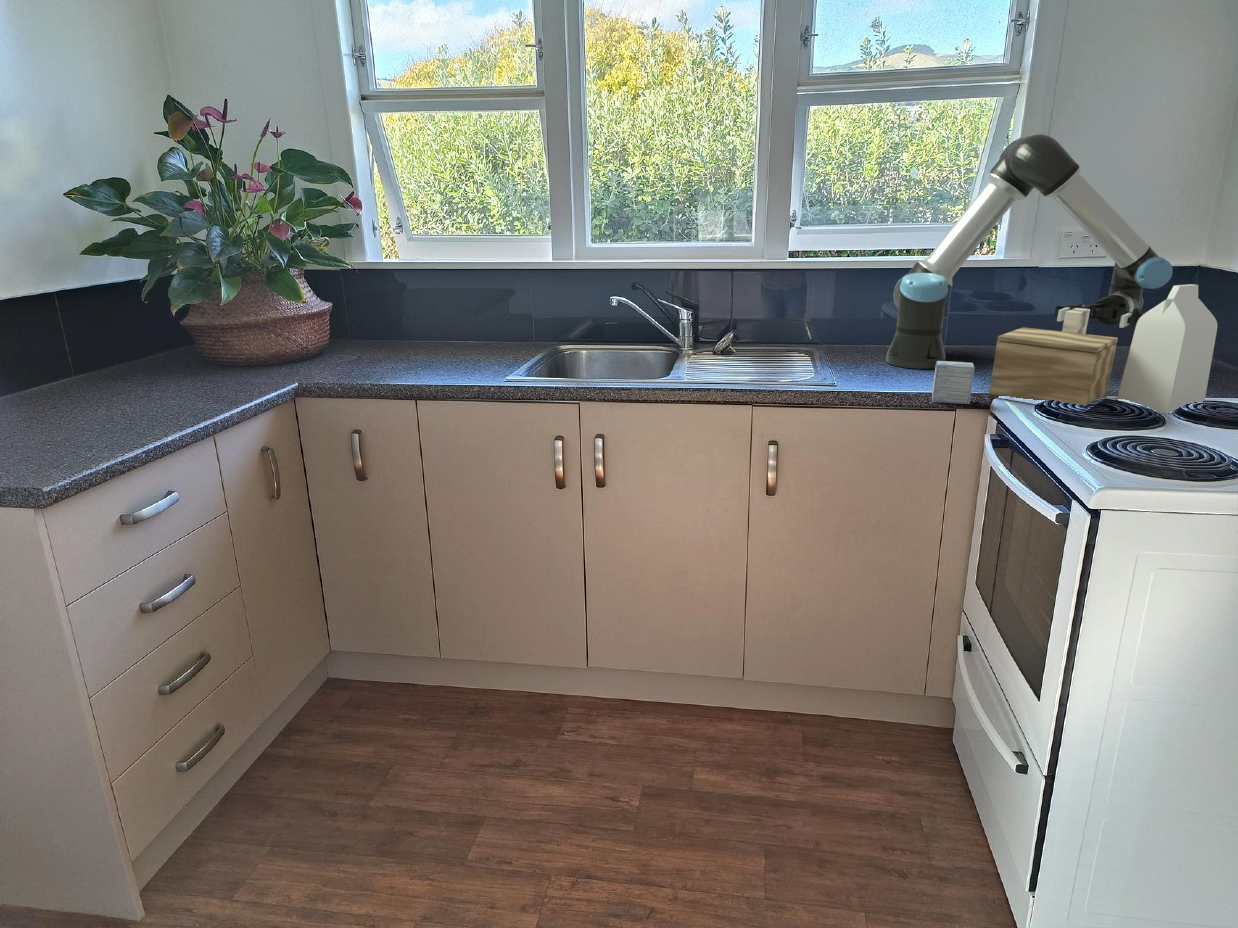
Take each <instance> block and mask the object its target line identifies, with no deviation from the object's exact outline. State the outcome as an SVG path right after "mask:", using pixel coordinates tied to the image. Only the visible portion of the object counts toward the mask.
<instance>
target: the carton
mask: <svg viewBox="0 0 1238 928" xmlns="http://www.w3.org/2000/svg"><path fill="white" fill-rule="evenodd" d="M1117 343H1118V342H1116V343H1115V344H1113V345H1111V346H1109V347H1107V348H1105V349H1103V350H1101V351H1099V352H1097V353H1094V352H1086V351H1078V350H1070V349H1061V348H1053V347H1045V346H1037V345H1028V344H1020V343H1012V342H1004V341H997V340H996V347H995V352H994V353H995V354H994V358H993V359H994V361H993V366H992V372H991V379H990V384H989V385H990V387H989V393H988V398H992V399H997V398H998V397H999V396H1010V397H1016V398H1023V399H1033V400H1045V401H1046V400H1054V401H1059V402H1065V403H1071V404H1079V405H1083V406H1087V405H1088V404H1090V402H1092V401H1093V400H1094V399H1099V398H1106V399H1107V393H1108V390H1109V385H1110V379H1111V374H1112V369H1113V364H1114V359H1115V354H1116V349H1117V345H1118V344H1117Z"/></svg>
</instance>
